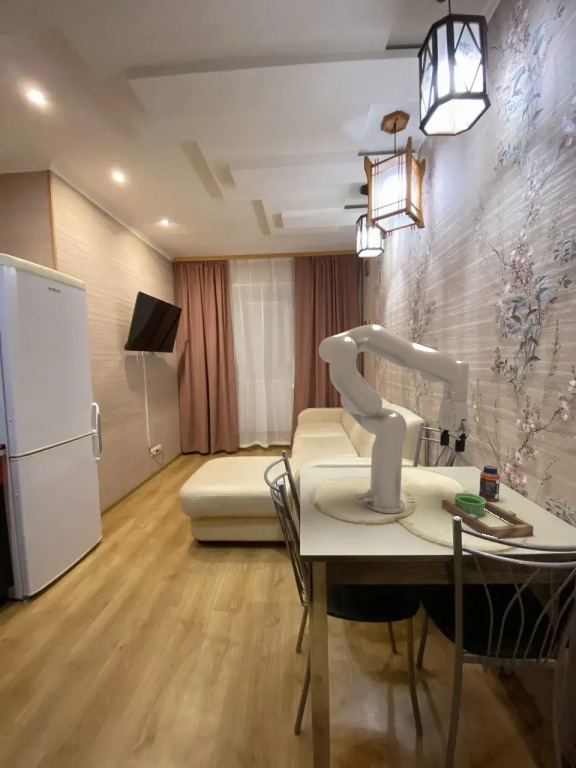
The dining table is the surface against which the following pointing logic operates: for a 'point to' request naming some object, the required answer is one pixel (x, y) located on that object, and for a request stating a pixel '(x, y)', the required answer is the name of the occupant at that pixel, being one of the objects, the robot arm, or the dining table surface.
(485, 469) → the supplement bottle
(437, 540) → the dining table surface
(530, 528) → the walnut track
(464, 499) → the ramekin
